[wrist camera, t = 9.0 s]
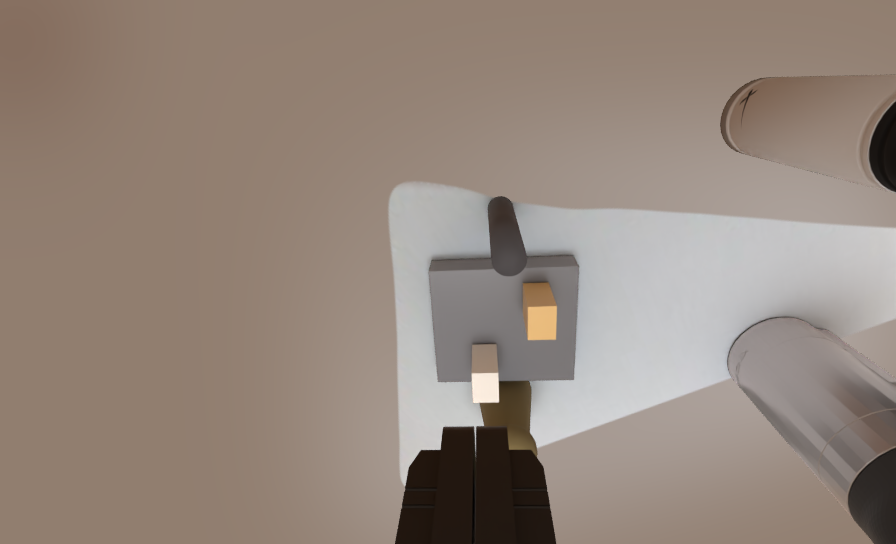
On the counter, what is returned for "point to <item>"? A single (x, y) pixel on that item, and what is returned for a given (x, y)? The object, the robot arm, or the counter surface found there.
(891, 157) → the travel mug
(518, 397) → the olive knobbed post
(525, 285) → the block
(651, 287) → the counter surface
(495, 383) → the cream rectangular block
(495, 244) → the post
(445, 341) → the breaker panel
